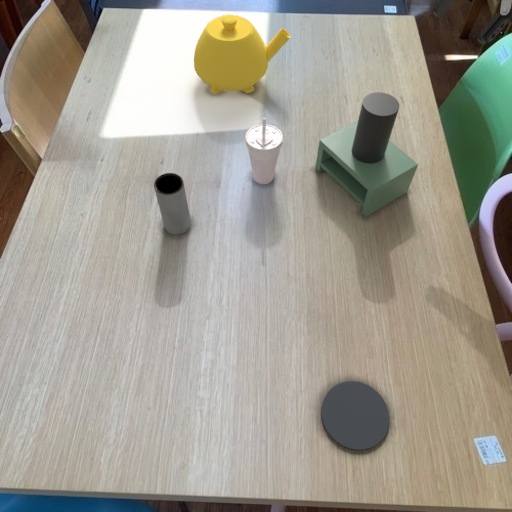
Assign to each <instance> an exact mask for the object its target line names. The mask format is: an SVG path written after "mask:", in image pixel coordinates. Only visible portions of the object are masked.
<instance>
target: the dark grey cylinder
mask: <svg viewBox="0 0 512 512" xmlns="http://www.w3.org/2000/svg"><path fill="white" fill-rule="evenodd" d="M399 110H400V102H399V100H398V99H397V98H396V97H394V96H393V95H391V94H390V93H387V92H381V91H379V92H378V91H377V92H371V93H368V94H367V95H366V96H364V98H363V99H362V103H361V107H360V111H359V114H358V120H357V121H358V124H357V128H356V133H355V137H354V141H353V146H352V154H353V156H354V157H355V158H356V159H357V160H359V161H361V162H363V163H369V164H370V163H377V162H379V161H381V160H382V159H383V157H384V155H385V152H386V149H387V145H388V142H389V141H390V139H391V135H392V132H393V129H394V126H395V122H396V120H397V116H398V113H399Z"/></svg>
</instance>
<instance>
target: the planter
mask: <svg viewBox="0 0 512 512" xmlns="http://www.w3.org/2000/svg"><path fill="white" fill-rule="evenodd" d="M153 187H154V192H155V196H156V200H157V203H158V204H157V205H158V207H159V211H160V215H161V219H162V223H163V226H164V229H165V231H166V232H167V233H169V234H170V235H175V236H177V235H178V236H179V235H182V234H185V233H186V232H187V231H189V229H190V228H191V225H192V224H191V223H192V221H191V216H190V210H189V205H188V204H189V203H188V199H187V193H186V187H185V182H184V179H183V178H182V176H180V175H179V174H177V173H176V172H175V173H174V172H166V173H163V174H160V175H159V176H158V177H156V179H155V180H154V183H153Z"/></svg>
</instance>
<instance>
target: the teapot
mask: <svg viewBox="0 0 512 512" xmlns="http://www.w3.org/2000/svg"><path fill="white" fill-rule="evenodd" d="M291 36H292V35H290V33H289V32H288V30H286V29H285V28H283V27H281V28H280V30H279V31H278V32H277V33H276V34H275V35H274V37H273V38H272V39H271V40H270V41H269V43H268V44H267V45H266V44H265V42H264V40H263V38H262V36H261V34H260V33H259V31H258V30H257V29H256V27H255V26H254V24H252V22H251V21H250V20H248V19H247V18H245V17H242V16H240V15H235V14H224V15H220V16H217V17H215V18H213V19H211V20H210V21H208V23H207V24H206V26H205V27H204V28H203V30H202V32H201V34H200V36H199V38H198V40H197V43H196V45H195V49H194V55H193V68H194V70H195V73H196V75H197V76H198V77H199V79H200V80H201V81H202V82H204V83H205V84H206V85H207V86H209V87H210V88H209V92H210V93H212V94H214V95H216V94H217V95H218V94H221V93H222V92H238V91H239V92H240V91H242V92H243V93H245V94H249V93H253V92H254V91H255V87H254V85H255V84H257V83H258V82H259V81H261V80H262V78H263V77H264V76H265V75H266V73H267V71H268V67H269V62H270V61H271V60H272V59H273V58H274V57H275V56H276V54H277V53H278V52H279V51H280V50H281V49H282V48H283V47H284V46H285V44H287V42H288V41H289V40H290V39H291V38H292V37H291Z"/></svg>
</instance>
